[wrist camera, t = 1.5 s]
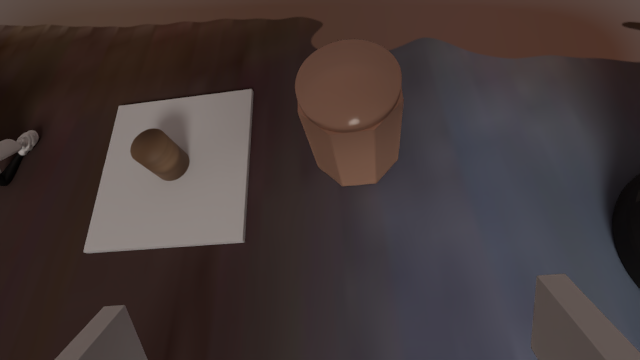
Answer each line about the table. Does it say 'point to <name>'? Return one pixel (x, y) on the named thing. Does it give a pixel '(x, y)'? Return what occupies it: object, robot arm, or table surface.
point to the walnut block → (159, 154)
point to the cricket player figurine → (10, 147)
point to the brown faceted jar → (351, 109)
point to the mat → (185, 192)
